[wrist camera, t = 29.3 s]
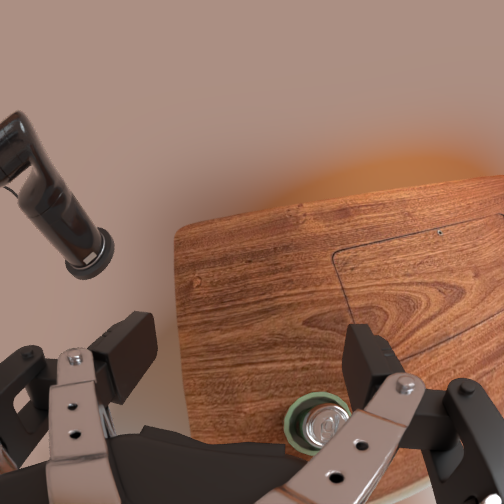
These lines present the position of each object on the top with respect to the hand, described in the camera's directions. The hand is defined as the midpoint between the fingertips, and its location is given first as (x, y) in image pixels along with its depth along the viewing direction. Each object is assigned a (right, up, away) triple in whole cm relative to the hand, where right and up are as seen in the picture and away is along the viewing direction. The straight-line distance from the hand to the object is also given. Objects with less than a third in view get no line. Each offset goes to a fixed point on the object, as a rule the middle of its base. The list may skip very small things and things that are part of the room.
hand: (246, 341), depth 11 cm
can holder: (+8, -20, +23) cm, 32 cm away
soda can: (+8, -20, +23) cm, 31 cm away
